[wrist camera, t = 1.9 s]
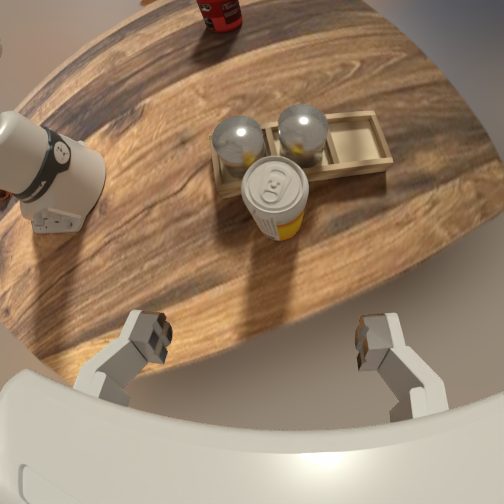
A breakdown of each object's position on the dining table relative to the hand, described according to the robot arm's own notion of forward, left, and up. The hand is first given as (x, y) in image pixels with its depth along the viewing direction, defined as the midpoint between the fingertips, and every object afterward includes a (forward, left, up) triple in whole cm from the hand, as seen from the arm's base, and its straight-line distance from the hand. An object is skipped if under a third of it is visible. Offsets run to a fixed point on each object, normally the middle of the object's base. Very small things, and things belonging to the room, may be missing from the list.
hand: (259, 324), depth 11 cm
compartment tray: (+7, +19, -26) cm, 33 cm away
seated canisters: (+3, +19, -24) cm, 31 cm away
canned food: (0, +56, -27) cm, 62 cm away
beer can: (+2, +10, -27) cm, 28 cm away
